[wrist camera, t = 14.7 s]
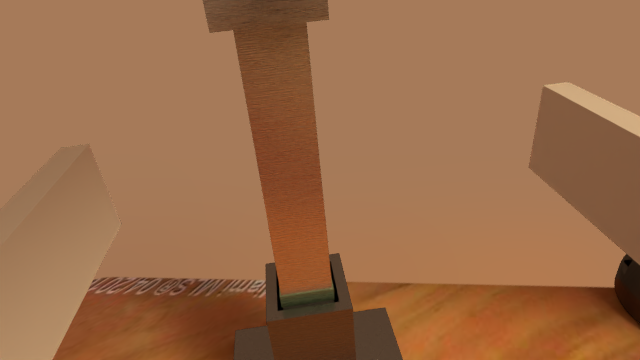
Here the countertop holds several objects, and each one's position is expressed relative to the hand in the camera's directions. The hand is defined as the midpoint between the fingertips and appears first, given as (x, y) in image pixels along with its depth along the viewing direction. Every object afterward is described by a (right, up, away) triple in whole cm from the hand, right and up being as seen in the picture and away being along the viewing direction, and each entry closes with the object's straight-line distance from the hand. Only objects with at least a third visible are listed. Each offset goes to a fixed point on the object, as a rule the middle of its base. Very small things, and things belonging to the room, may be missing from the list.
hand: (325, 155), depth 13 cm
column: (-1, -14, +22) cm, 26 cm away
